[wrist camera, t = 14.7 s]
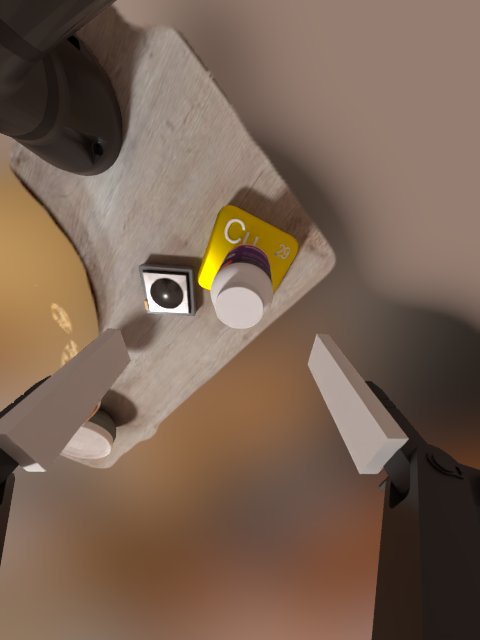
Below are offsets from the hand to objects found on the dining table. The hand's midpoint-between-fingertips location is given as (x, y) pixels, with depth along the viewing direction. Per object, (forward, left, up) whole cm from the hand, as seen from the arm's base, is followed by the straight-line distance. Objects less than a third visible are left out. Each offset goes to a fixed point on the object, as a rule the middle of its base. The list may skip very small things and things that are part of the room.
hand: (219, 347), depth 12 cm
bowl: (+53, -43, -27) cm, 73 cm away
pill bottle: (-1, +3, -23) cm, 23 cm away
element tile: (-1, +3, -28) cm, 28 cm away
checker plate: (+6, -13, -26) cm, 30 cm away
